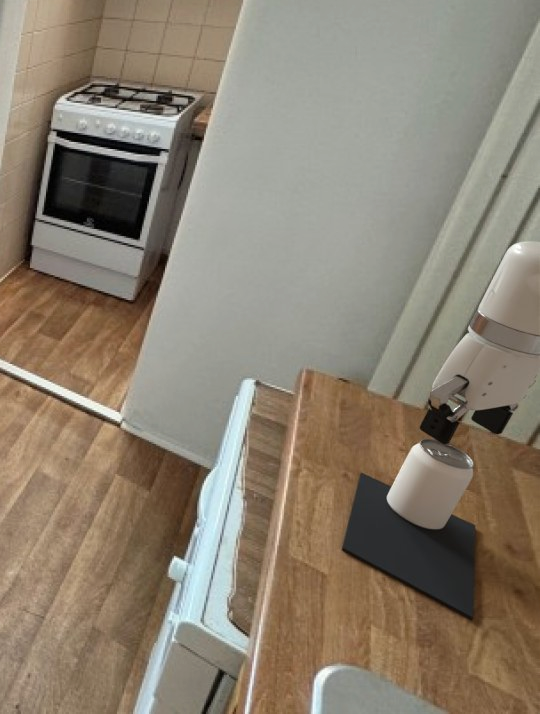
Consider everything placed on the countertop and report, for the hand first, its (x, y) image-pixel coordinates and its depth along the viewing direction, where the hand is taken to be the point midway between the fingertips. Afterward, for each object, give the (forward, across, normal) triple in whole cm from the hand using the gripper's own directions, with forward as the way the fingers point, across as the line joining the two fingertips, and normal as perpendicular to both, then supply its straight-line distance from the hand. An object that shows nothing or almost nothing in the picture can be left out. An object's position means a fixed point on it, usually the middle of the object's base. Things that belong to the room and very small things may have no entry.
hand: (459, 431), depth 86 cm
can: (+16, 0, 0) cm, 16 cm away
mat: (+17, +5, +3) cm, 18 cm away
